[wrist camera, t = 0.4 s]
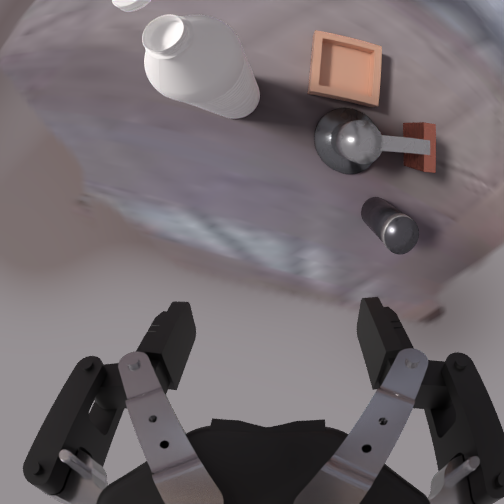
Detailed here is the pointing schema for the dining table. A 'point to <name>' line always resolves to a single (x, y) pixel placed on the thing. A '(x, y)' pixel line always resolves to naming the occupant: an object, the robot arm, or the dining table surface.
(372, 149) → the crank
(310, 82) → the tray
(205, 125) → the dining table surface
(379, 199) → the peg
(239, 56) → the water bottle
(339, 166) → the base
